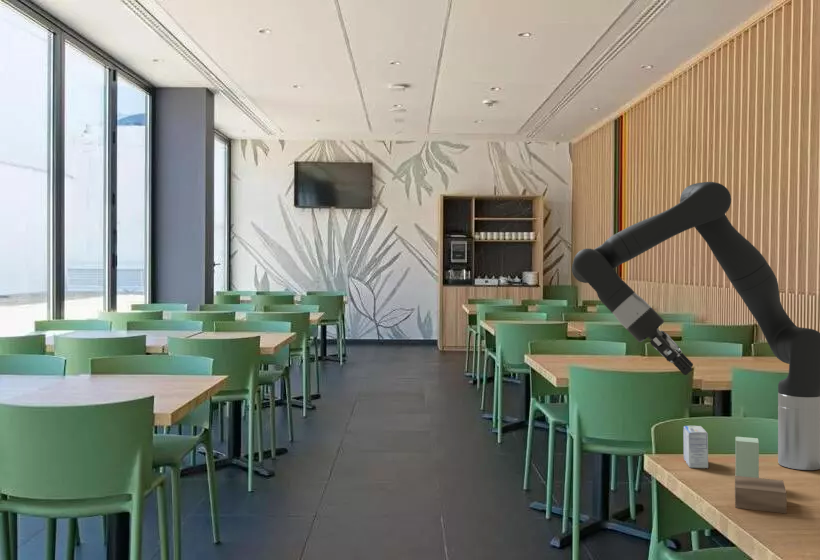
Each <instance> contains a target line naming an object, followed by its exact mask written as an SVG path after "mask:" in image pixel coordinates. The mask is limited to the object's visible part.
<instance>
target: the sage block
mask: <svg viewBox="0 0 820 560" xmlns="http://www.w3.org/2000/svg"><path fill="white" fill-rule="evenodd" d="M759 445H760V441H759V438H757V437H756V438H755V437H745V436H744V437H743V436H735V476H744V477H754V478H760V476H759V475H760V473H759V471H760V467H759V466H760V459H759V458H760V447H759Z"/></svg>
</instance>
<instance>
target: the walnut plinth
mask: <svg viewBox="0 0 820 560" xmlns="http://www.w3.org/2000/svg"><path fill="white" fill-rule="evenodd" d="M734 501H735V502H734V503H735V505H734V506H735V508H738V509H745V510H746V509H747V510H753V511H761V512H762V511H763V512H769V513H770V512H771V513H778V514H779V513H781V514H787V490H786V486H785V483H784V479H783V480H782V479H773V478H771V479H770V478H765V477H764V478H763V477H762V478H761V477H759V478H754V477H744V476H736V475H734Z"/></svg>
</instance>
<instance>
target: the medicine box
mask: <svg viewBox="0 0 820 560" xmlns="http://www.w3.org/2000/svg"><path fill="white" fill-rule="evenodd" d="M682 431H683V432H682V433H683V434H682V435H683V447H682V448H683V460H684V461H686V462H685V463H686V465H687V466H688V467H689V469H705V468H707V469H708V468H709V441H708V440H709V438H708V437H709V433H708V432H707V431H706V429H704V428H703V427H702V425H684V426H683V430H682Z"/></svg>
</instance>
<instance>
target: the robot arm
mask: <svg viewBox="0 0 820 560" xmlns="http://www.w3.org/2000/svg"><path fill="white" fill-rule="evenodd" d="M731 203H732V196H731V193H730V191H729V190H728V188H727V187H726V186H725V185H723V184H721V183H719V182H715V181H704V182H696V183H693V184H690V185H688V186H687V187H685V188H684V189H683V190H682V191H681V195H680V199H679V203H677V204H676V205H673V206H672V207H670V208H668V209H667V210H664V211H662V212H660V213H658V214H656V215H653V216H650V217H647V218H646V219H643V220H640V221H639V222H636V223H633V224H632V225H629V226H627V227H626V228H623V229H621V230H620V231H619V232H616V233H614V234H613V235H611V236H609V238H607V239H606V240H605V241H604V242H603V243H602V244H601V245H598V246H597V247H595V248H583V249H581V250H579V251H578V252H577V253H576V254H575V255H574V257H573V261H572V264H571V265H572V266H571V273H572V275H573V278H575V280H577V281H578V282H580V283H583V284H588V285H589V286H591V288H592V289H593V290H594V291H595V292H596V296H597V297H598V300H600V302H601V303H602V304H603V305H604V306H605V307H606V308H607V309H608V310H609V312H611V313H612V314H613V316H614V317H615V319H616V320H617V321H618V322H619V324H621V326H622V327H624V329H626V331H628V332H629V333H630V335H631V336H632V337H633V338H634V339H636V341H637V342H638V343H642V342H644V341H645V340H646V339H647V338H649V339H650V341H649V343H650V344H651V346H652V347H653V349H655V350H656V351H657V352H659V354H660V355H661V356H662V357H663V358H665V359H666V361H667V362H668V363H671V364H673V365H674V366H675V367H676V369H678V370H679V371H680V372H681V373H682V375H684V376H687V375H688V374H689V373H691V372H692V370H693V366H694V364H693V362H692V361H691V360H690V359H689V358H688V357H687V356H686V355H685V354H684V352H683V351H682V349H681V348H680V346H678V343H676V341H674V340H673V339H672V337H671V336H670V335H669V334H668V333H667V332H666V331H663V330H660V329H659V328H660V327H661V326H662V324H664V322H665V320H664V318H663V317H662V316H660V314H659V313H658V312H657V311H656V310H654V308H653V307H652V306H651V305H649V303H648V302H647V301H646V300H645V299H644V298H643V297H641V296H640V295H639V294H637V293H636V292H635V291H634V290H633V289H632V288H631V287H630V286H629V285H628V284H627V283H626V281H624V280H623V279H622V278H621V277H620V276H619V274H618V273H617V271H616V270H615V269H616V268H617V267H618V266H620V265H622V264H625V263H627V262H629V261H631V260H632V259H635V258H636V257H638V256H640V255H642V254H643V253H646V252H647V251H649V250H650V249H652V248H654V247H656V246H658V245H659V244H662V243H663V242H665V241H668V240H669V239H671V238H673V237H675V236H676V235H679V234H682V233H683V232H686V231H688V230H690V229H693V228H694V229H695V231H697V233H699V235H700V236H701V237H702V239H704V241H705V242H706V244H707V245H708V248H709V249H710V250H711V252H712V254H713V255H714V257H715V259H716V261H717V262H718V264H719V266H720V267H721V269H722V270H723V271H724V274H725V275H726V277H727V278H728V280H729V282H730V283H731V284H732V286H733V288H734V290H735V291H736V292H737V294H738V295H739V296H740V298H741V299H742V302H743V303H744V304H745V306H746V307H747V309H748V311H749V312H750V313H751V315H752V317H754V319H755V321H756V323H757V325H758V326H759V328H760V330H761V332H762V334H763V336H764V338H765V340H766V342H767V344H768V346H769V348H770V350H771V352H772V353H773V355H774V356H775V357H776V358H777V359H778V360H779V361H781V362H783V363H785V364H788V374H787V376H786V378H784V379H781V380H779V382H778V385H777V405H778V407H777V411H778V412H777V413H778V414H777V428H778V429H777V442H778V443H777V463H779V464H778V465H780V466H782V467H785V468H789V469H794V470H802V471H815V470H820V332H819V331H818V330H816V329H813V328H809V327H808V328H807V327H800V326H797V325H796V324H795V323H794V321H793V320H791V318H790V316H789V315H788V314H787V312H786V310H785V309H784V307H783V305H782V302H781V297H780V288H779V282H778V278H777V276H776V274H775V272H774V271H773V270H772V268H771V266H770V265H769V263H768V261H767V259H766V258H765V257H764V255H763V254H762V253H761V252H760V251H759V249H758V248H756V246H754V245H753V243H752V242H750V241H749V240H748V239H747V238H746V237H745V236H744V235H742V234H741V233H740V232H739V231H738V230H737V229H736V228H735V227H734V226H733V225H732V223H731V221H730V220H729V218H728V217H727V215H726V214H727V212H728V211H729V210H730V207H731Z"/></svg>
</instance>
